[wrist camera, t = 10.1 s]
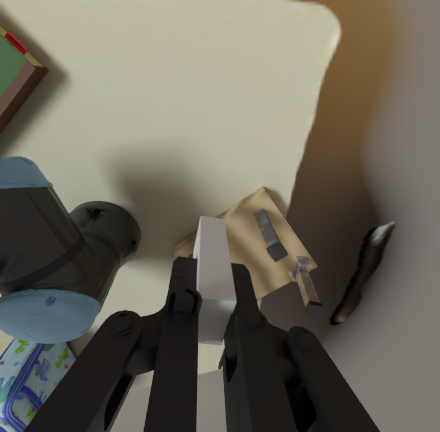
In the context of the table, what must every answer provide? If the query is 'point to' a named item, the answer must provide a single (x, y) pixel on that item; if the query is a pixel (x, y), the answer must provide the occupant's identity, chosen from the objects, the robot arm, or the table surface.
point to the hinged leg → (308, 291)
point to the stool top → (259, 243)
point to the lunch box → (29, 379)
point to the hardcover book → (16, 75)
